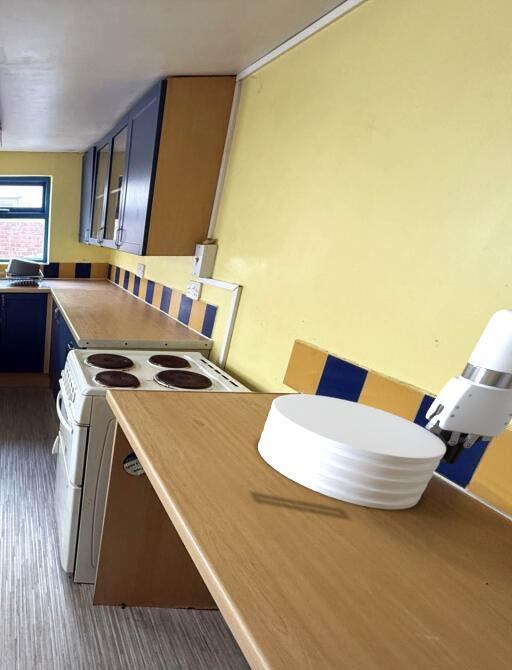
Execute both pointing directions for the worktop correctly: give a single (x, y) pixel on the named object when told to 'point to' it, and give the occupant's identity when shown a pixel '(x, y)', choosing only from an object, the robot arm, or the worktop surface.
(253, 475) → the worktop surface
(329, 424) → the plate stack
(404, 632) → the worktop surface
